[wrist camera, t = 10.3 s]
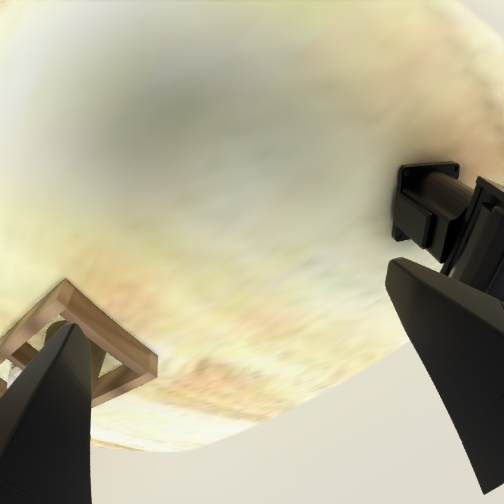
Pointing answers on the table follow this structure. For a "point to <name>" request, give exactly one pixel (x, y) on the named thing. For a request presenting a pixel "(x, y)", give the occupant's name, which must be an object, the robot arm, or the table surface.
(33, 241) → the table surface
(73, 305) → the crate
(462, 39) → the table surface
